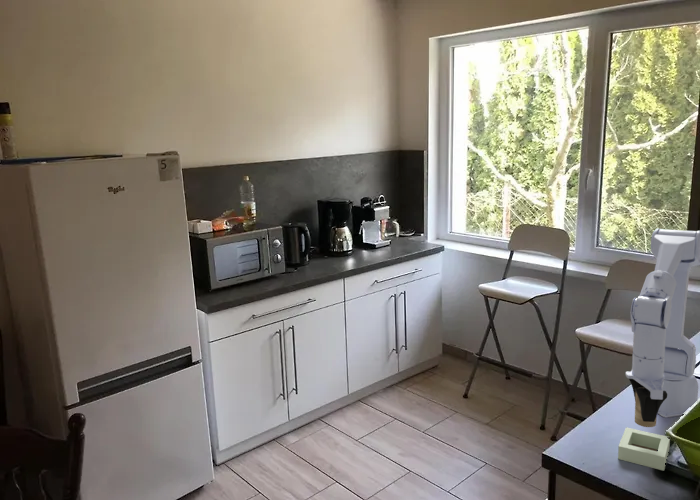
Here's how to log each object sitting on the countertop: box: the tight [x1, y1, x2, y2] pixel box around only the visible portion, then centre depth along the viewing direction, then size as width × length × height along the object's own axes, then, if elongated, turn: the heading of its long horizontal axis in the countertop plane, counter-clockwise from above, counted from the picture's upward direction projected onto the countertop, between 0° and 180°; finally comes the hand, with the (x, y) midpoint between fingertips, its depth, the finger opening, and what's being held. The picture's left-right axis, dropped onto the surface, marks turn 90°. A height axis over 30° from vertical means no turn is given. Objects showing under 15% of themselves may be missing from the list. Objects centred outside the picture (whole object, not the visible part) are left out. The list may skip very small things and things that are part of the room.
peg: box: [634, 387, 658, 428], centre depth 118 cm, size 4×4×7 cm
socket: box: [617, 427, 671, 472], centre depth 120 cm, size 8×8×3 cm
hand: (645, 415), depth 118 cm, fingers closed on peg, 4 cm apart
